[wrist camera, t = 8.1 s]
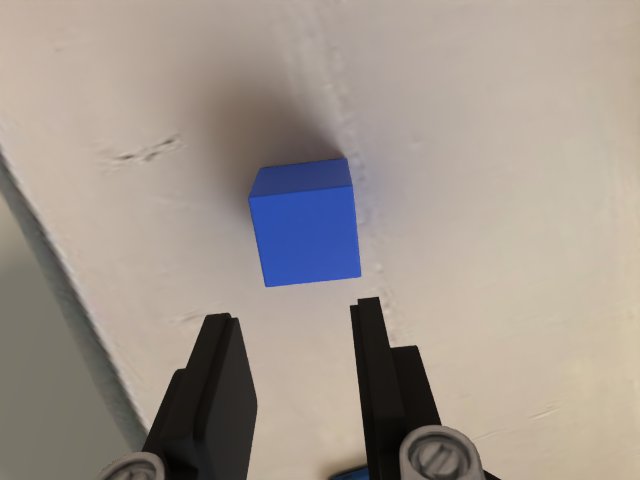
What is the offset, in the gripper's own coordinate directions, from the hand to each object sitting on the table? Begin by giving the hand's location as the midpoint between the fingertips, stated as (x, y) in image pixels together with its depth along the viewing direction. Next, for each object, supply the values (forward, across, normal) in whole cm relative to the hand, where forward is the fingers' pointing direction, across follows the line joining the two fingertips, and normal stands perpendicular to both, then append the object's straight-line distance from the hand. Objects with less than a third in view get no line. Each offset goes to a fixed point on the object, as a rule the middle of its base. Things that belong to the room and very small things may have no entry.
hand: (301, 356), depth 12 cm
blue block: (+11, 0, 0) cm, 11 cm away
